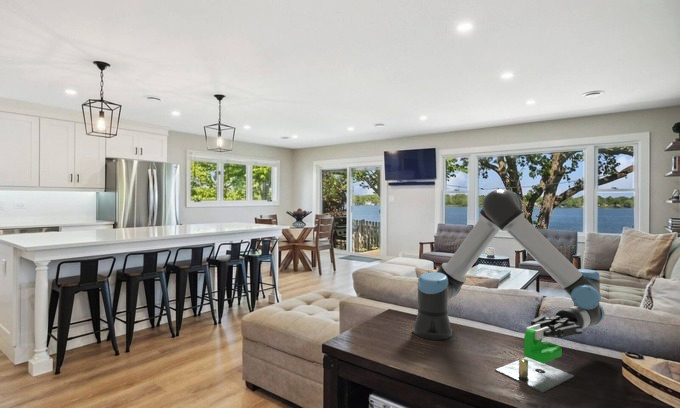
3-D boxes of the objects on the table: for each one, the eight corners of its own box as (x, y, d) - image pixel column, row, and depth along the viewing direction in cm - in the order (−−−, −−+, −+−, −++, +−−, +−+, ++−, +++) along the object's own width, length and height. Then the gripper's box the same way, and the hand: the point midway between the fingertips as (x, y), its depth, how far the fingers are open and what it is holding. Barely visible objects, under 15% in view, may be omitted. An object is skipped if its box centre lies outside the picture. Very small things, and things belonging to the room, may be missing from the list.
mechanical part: (543, 363, 105) (544, 336, 105) (523, 356, 110) (524, 329, 110) (565, 354, 111) (565, 328, 111) (546, 347, 116) (546, 322, 116)
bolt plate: (495, 370, 115) (495, 352, 115) (526, 357, 124) (527, 340, 124) (542, 392, 102) (542, 371, 102) (574, 376, 111) (574, 357, 111)
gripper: (596, 338, 116) (557, 355, 104) (549, 323, 129) (508, 337, 117) (597, 314, 116) (557, 329, 104) (549, 303, 129) (508, 314, 117)
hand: (531, 333), depth 110 cm, fingers closed on mechanical part, 2 cm apart
